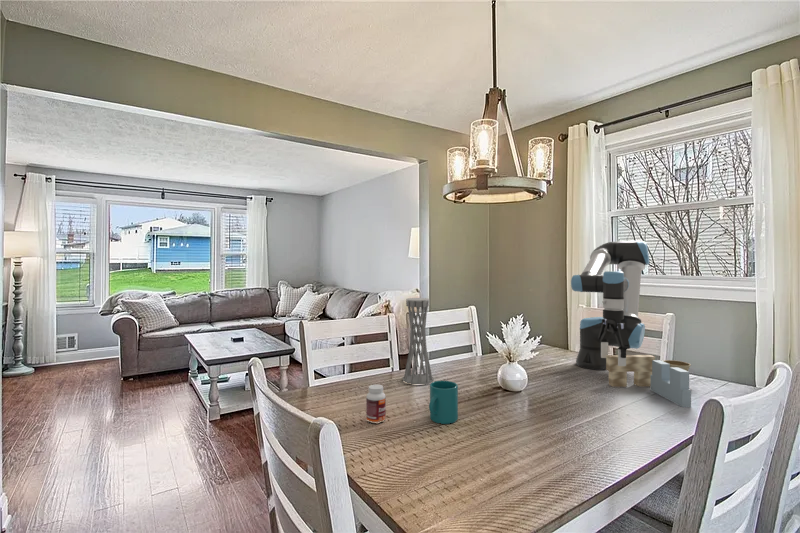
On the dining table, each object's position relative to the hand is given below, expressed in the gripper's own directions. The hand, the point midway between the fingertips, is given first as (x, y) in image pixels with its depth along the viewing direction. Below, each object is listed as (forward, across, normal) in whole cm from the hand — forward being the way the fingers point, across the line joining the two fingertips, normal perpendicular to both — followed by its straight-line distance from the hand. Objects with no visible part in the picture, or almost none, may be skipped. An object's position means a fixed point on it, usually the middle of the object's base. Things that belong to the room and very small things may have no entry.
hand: (612, 361), depth 163 cm
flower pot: (+10, -2, +27) cm, 29 cm away
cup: (+11, +34, -73) cm, 81 cm away
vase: (+11, -8, -79) cm, 80 cm away
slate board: (+10, +14, +13) cm, 22 cm away
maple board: (+10, 0, +7) cm, 12 cm away
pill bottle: (+12, +34, -94) cm, 100 cm away
